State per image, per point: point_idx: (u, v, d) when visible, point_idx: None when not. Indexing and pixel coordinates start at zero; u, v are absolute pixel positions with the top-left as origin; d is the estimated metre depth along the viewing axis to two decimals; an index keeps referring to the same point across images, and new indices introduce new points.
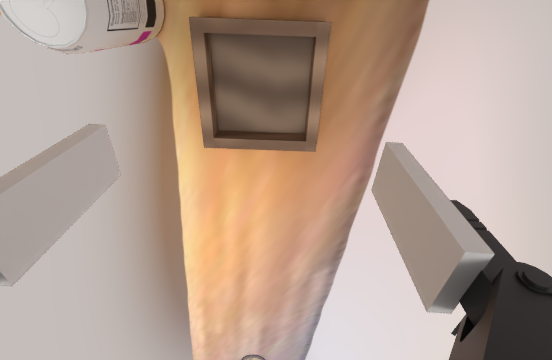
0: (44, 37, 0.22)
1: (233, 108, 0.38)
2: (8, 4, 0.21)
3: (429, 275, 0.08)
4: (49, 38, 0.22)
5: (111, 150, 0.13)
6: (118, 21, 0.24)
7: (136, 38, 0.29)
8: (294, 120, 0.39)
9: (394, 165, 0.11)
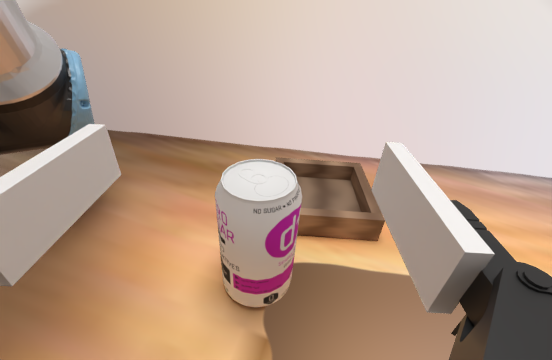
0: (289, 185, 0.24)
1: None
2: (263, 196, 0.23)
3: (429, 275, 0.08)
4: (289, 183, 0.24)
5: (111, 150, 0.13)
6: None
7: None
8: (340, 184, 0.50)
9: (394, 165, 0.11)
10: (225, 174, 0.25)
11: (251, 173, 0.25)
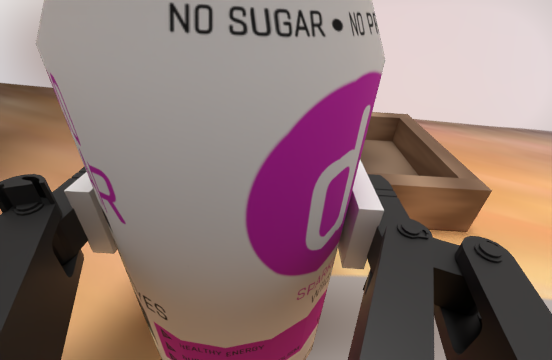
0: None
1: None
2: None
3: (344, 235, 0.09)
4: None
5: None
6: None
7: None
8: (379, 146, 0.32)
9: None
10: None
11: None
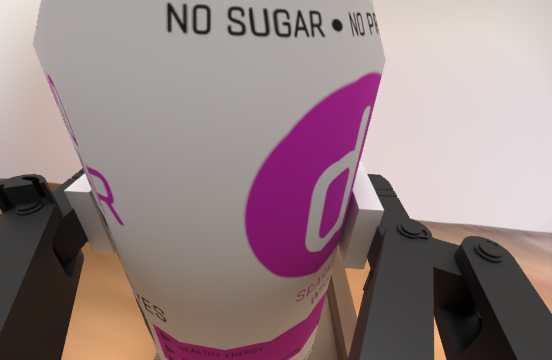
0: None
1: None
2: None
3: (344, 235, 0.09)
4: None
5: None
6: None
7: None
8: None
9: None
10: None
11: None
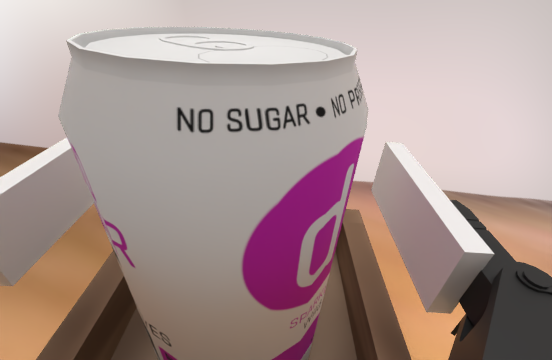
0: (330, 57, 0.07)
1: None
2: None
3: (428, 275, 0.08)
4: (330, 55, 0.07)
5: None
6: None
7: None
8: None
9: (394, 165, 0.11)
10: (115, 38, 0.08)
11: (202, 41, 0.08)
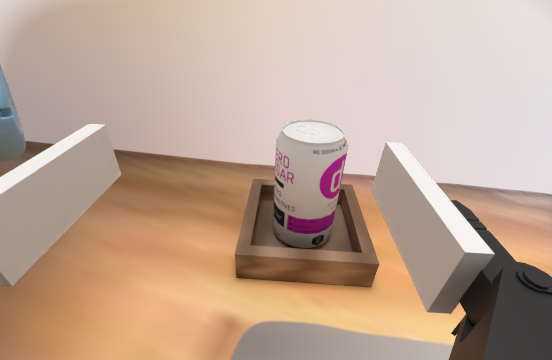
0: (338, 135, 0.29)
1: None
2: (320, 141, 0.28)
3: (429, 275, 0.08)
4: (338, 134, 0.30)
5: (111, 150, 0.13)
6: None
7: None
8: None
9: (394, 165, 0.11)
10: (284, 129, 0.31)
11: (305, 128, 0.31)
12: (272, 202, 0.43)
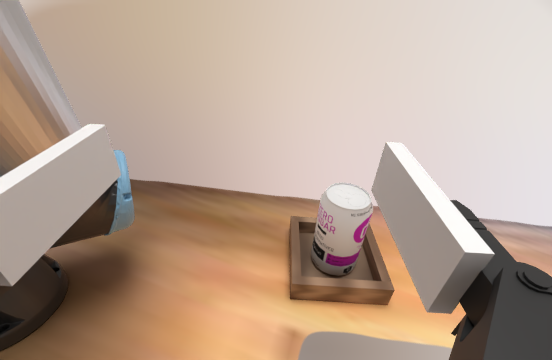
0: (366, 200, 0.41)
1: (353, 278, 0.47)
2: (355, 206, 0.40)
3: (429, 275, 0.08)
4: (366, 198, 0.42)
5: (111, 150, 0.13)
6: None
7: None
8: None
9: (394, 165, 0.11)
10: (327, 193, 0.42)
11: (341, 192, 0.43)
12: (306, 234, 0.55)
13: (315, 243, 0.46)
